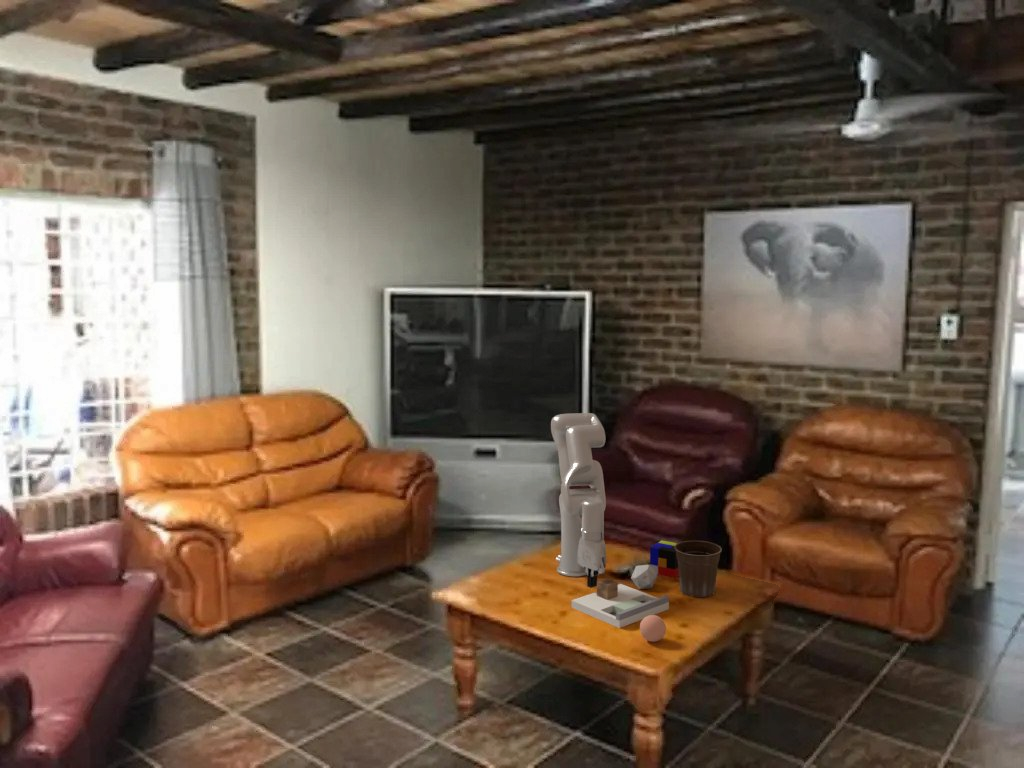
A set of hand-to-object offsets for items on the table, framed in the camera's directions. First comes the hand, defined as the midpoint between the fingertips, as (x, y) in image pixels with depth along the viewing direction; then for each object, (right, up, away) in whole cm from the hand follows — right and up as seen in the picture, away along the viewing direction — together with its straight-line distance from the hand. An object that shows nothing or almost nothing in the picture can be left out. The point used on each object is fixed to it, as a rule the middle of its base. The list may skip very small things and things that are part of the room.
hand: (592, 586), depth 296 cm
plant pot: (+38, -3, +5) cm, 38 cm away
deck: (+8, -5, -10) cm, 14 cm away
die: (+19, -3, +10) cm, 22 cm away
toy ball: (+15, -9, -35) cm, 39 cm away
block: (+5, -2, -5) cm, 7 cm away
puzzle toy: (+31, -1, +26) cm, 40 cm away
